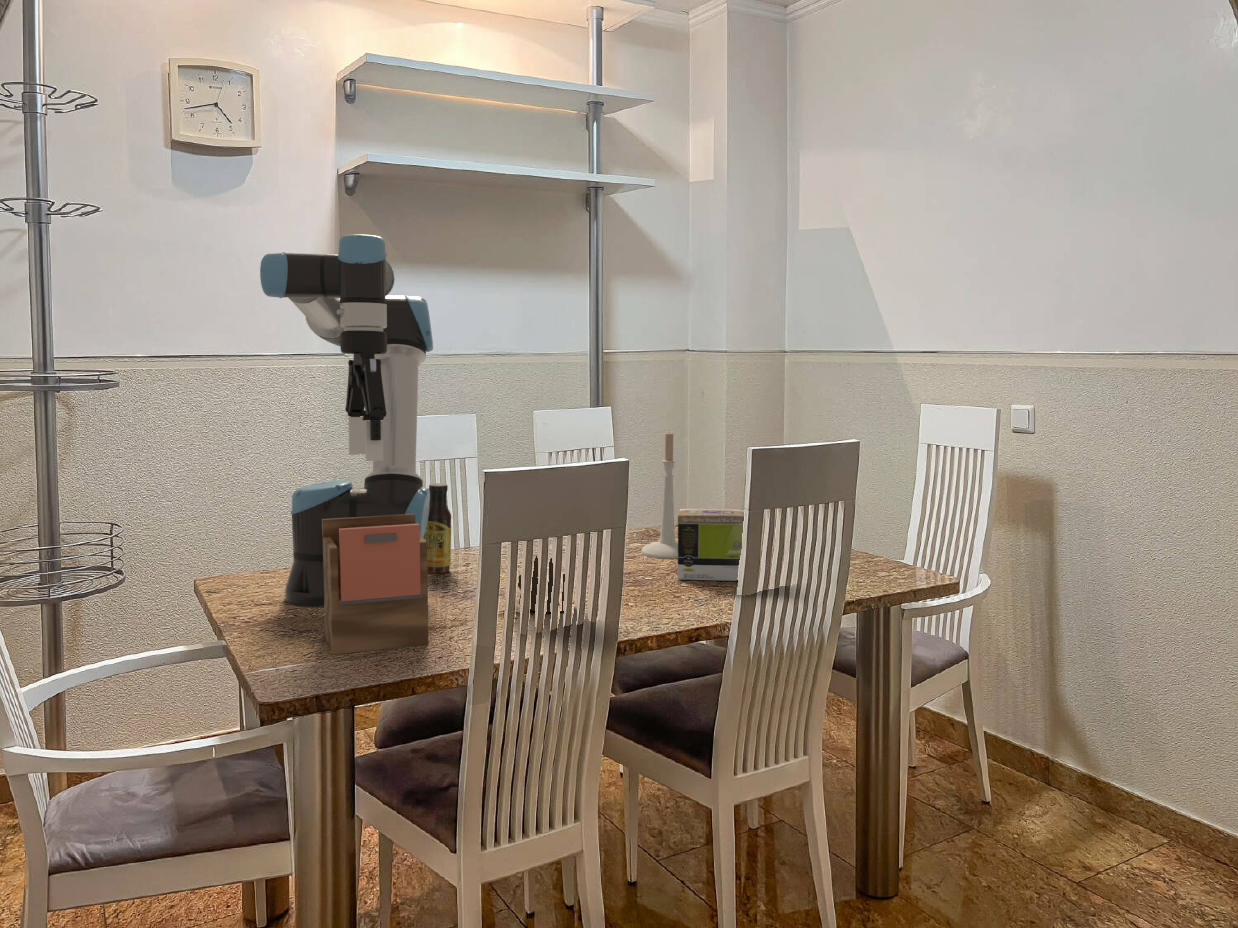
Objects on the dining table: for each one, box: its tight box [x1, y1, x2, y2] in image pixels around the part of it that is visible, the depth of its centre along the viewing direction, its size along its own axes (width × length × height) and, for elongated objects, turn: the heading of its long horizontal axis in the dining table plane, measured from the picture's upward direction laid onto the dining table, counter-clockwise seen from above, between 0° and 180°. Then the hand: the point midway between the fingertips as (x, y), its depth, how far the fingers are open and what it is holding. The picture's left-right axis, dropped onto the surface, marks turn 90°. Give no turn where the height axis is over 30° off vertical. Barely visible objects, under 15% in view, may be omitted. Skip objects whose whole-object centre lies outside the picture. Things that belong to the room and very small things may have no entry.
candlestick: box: [640, 432, 678, 560], centre depth 247 cm, size 13×13×30 cm
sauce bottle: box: [423, 482, 452, 575], centre depth 226 cm, size 7×6×20 cm
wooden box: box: [322, 514, 430, 655], centre depth 175 cm, size 11×16×21 cm
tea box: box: [677, 507, 744, 582], centre depth 225 cm, size 15×10×15 cm, turn 84°
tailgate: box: [339, 524, 422, 606], centre depth 169 cm, size 2×14×13 cm, turn 113°
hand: (365, 457), depth 170 cm, fingers open, 13 cm apart
